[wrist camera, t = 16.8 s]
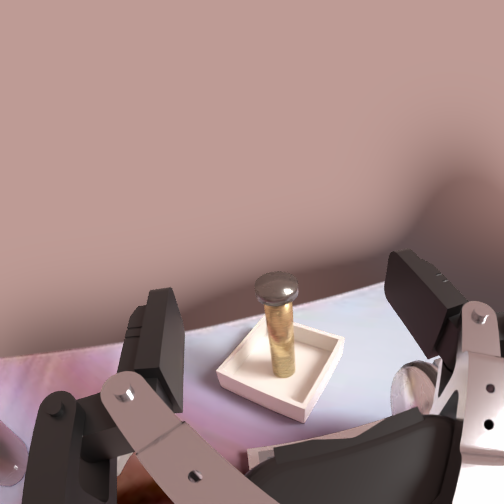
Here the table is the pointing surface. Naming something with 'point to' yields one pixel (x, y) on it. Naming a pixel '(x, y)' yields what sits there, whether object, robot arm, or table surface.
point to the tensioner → (402, 398)
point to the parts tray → (282, 389)
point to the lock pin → (279, 318)
